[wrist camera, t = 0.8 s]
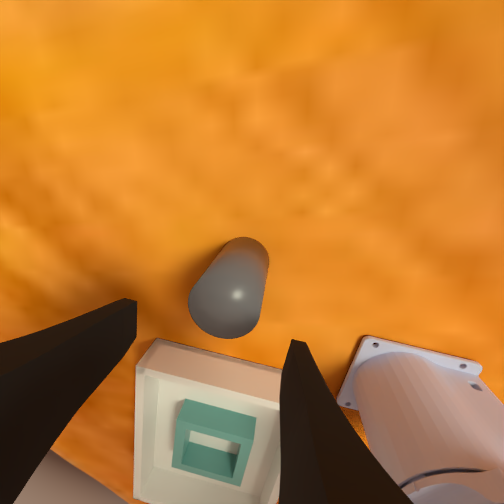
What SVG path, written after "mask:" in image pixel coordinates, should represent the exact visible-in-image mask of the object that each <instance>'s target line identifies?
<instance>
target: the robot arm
mask: <svg viewBox="0 0 504 504" xmlns="http://www.w3.org/2000/svg"><path fill="white" fill-rule="evenodd" d="M136 332H137V301H134V300H130V299H126V298H124V299H121V300H118V301H115V302H113V303H110V304H108V305H106V306H103V307H101V308H98V309H96V310H93V311H91V312H88V313H86V314H84V315H81V316H79V317H76V318H74V319H71V320H68V321H66V322H63V323H60V324H58V325H55V326H52V327H50V328H47V329H44V330H41V331H38V332H35V333H32V334H29V335H26V336H23V337H19V338H16V339H13V340H9V341H6V342H2V343H0V504H13V503H14V501H15V500H16V498H17V497H18V495H19V494H20V492H21V491H22V489H23V488H24V486H25V485H26V483H27V481H28V480H29V479H30V477H31V476H32V474H33V473H34V471H35V469H36V468H37V467H38V465H39V464H40V462H41V461H42V459H43V458H44V456H45V455H46V454H47V452H48V451H49V449H50V448H51V446H52V445H53V444H54V442H55V441H56V439H57V438H58V436H59V435H60V434H61V432H62V431H63V430H64V428H65V427H66V425H67V424H68V423H69V421H70V420H71V419H72V417H73V416H74V414H75V413H76V412H77V411H78V409H79V408H80V407H81V406H82V404H83V403H84V402H85V401H86V400H87V399H88V397H89V396H90V395H91V394H92V393H93V392H94V390H95V389H96V388H97V387H98V386H99V385H100V383H101V382H102V381H103V380H104V379H105V378H106V377H107V375H108V374H109V373H110V372H111V371H112V369H113V368H114V367H115V366H116V365H117V364H118V362H119V361H120V360H121V359H122V358H123V356H124V355H125V353H126V352H127V351H128V349H129V348H130V346H131V344H132V343H133V341H134V340H135V338H136ZM373 343H376V344H373ZM461 364H462V365H461ZM481 371H482V366H481V365H480V364H479V363H478V362H476V361H472V360H468V359H464V358H460V357H456V356H451V355H447V354H443V353H439V352H435V351H431V350H426V349H422V348H418V347H414V346H410V345H406V344H401V343H397V342H393V341H389V340H385V339H381V338H376V337H372V336H365V337H364V338H363V339H362V341H361V343H360V346H359V348H358V350H357V352H356V355H355V357H354V359H353V362H352V364H351V366H350V368H349V371H348V373H347V375H346V378H345V380H344V382H343V385H342V387H341V389H340V391H339V394H338V396H337V399H336V400H337V402H336V400H335V399H334V397H333V395H332V393H331V392H330V390H329V388H328V386H327V384H326V383H325V381H324V379H323V377H322V375H321V373H320V371H319V369H318V367H317V365H316V363H315V361H314V359H313V357H312V355H311V352H310V350H309V348H308V346H307V344H306V342H302V341H298V340H294V339H292V340H291V344H290V347H289V350H288V353H287V357H286V360H285V363H284V366H283V370H282V373H281V383H280V395H279V409H280V452H281V468H280V489H279V504H504V405H503V403H502V402H501V401H500V400H499V399H498V398H497V397H496V396H495V395H494V393H493V392H492V391H491V390H490V389H489V388H488V387H487V386H486V385H485V383H484V382H483V381H482V380H481V379H480V378H479V377H478V375H479V374H480V372H481ZM339 405H340V406H342V407H346V408H350V409H354V410H358V411H359V413H360V417H361V420H362V424H363V427H364V431H365V434H366V438H367V441H368V444H369V448H370V450H369V449H368V448H367V446H366V445H365V444H364V442H363V441H362V440H361V438H360V437H359V436H358V434H357V433H356V431H355V430H354V428H353V427H352V426H351V424H350V423H349V421H348V420H347V418H346V417H345V415H344V413H343V412H342V410H341V409H340V407H339ZM370 451H371V452H370Z"/></svg>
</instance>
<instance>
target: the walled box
mask: <svg viewBox="0 0 504 504" xmlns="http://www.w3.org/2000/svg"><path fill="white" fill-rule="evenodd" d="M281 373H282V370H281V369H277V368H273V367H269V366H265V365H262V364H258V363H254V362H250V361H246V360H242V359H238V358H234V357H230V356H226V355H222V354H218V353H214V352H210V351H206V350H203V349H199V348H195V347H191V346H187V345H183V344H179V343H175V342H171V341H167V340H163V339H159V338H156V340H155V341H154V342H153V343H152V345H151V346H150V347H149V349H148V350H147V351H146V353H145V354H144V355H143V357H142V358H141V359H140V361H139V362H138V363H137V365H136V386H135V437H134V488H133V498H134V499H137V500H140V501H144V502H147V503H150V504H276V503H277V501H278V498H279V489H280V468H281V452H280V409H279V395H280V383H281Z"/></svg>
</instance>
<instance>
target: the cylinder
mask: <svg viewBox="0 0 504 504" xmlns="http://www.w3.org/2000/svg"><path fill="white" fill-rule="evenodd" d="M268 267H269V256H268V253H267V251H266V249H265V248H264V246H263V245H262V244H261V243H259V242H258V241H256V240H254V239H252V238H248V237H239V238H235V239H233V240H231V241H229V242H228V243H227V244H226V245H225V246H224V248H223V249H222V250H221V251H220V253H219V254H218V255H217V257H216V258H215V259H214V261H213V262H212V263H211V264H210V266H209V267H208V268H207V270H206V271H205V272H204V274H203V275H202V276H201V278H200V279H199V280H198V281H197V283H196V284H195V285H194V287H193V288H192V290H191V292H190V294H189V298H188V308H189V312H190V314H191V317H192V318H193V320H194V321H195V323H196V324H197V325H198V326H199V327H200V328H201V329H202V330H204V331H205V332H207V333H208V334H210V335H213V336H215V337H218V338H224V339H233V338H238V337H241V336H244V335H246V334H248V333H249V332H250V331H251V330H252V329H253V328H254V327H255V326H256V324H257V322H258V320H259V317H260V311H261V306H262V300H263V295H264V289H265V284H266V278H267V273H268Z"/></svg>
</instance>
